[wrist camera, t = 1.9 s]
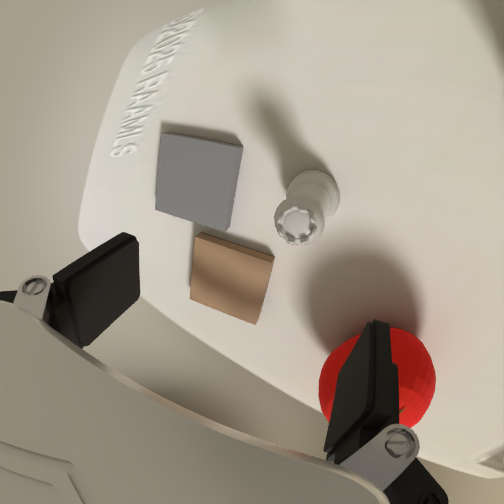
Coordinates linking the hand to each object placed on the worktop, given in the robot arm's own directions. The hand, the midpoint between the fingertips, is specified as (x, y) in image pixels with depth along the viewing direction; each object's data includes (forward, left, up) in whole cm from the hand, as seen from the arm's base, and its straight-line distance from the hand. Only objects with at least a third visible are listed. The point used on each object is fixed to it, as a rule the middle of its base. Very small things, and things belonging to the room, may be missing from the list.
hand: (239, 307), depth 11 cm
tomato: (+14, +12, -17) cm, 25 cm away
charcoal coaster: (+1, -11, -16) cm, 20 cm away
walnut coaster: (+11, -6, -16) cm, 20 cm away
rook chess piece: (0, 0, -17) cm, 17 cm away
